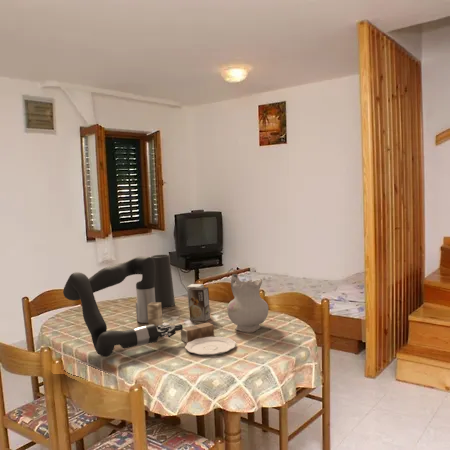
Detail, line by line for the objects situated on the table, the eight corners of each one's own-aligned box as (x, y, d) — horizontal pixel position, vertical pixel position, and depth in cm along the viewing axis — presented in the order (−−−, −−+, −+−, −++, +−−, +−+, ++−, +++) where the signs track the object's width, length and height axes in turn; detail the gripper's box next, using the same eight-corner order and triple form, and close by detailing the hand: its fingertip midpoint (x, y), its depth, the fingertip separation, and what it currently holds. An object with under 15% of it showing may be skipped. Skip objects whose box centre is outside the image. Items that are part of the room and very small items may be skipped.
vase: (179, 303, 267) (176, 254, 265) (161, 309, 257) (158, 258, 255) (164, 300, 276) (162, 253, 274) (146, 305, 266) (143, 256, 264)
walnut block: (185, 331, 197) (213, 324, 205) (180, 328, 202) (207, 322, 209) (186, 342, 198) (214, 335, 205) (181, 339, 202) (208, 333, 210)
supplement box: (205, 305, 260) (204, 283, 259) (200, 309, 253) (199, 286, 252) (193, 305, 262) (192, 283, 261) (188, 308, 255) (186, 286, 254)
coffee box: (210, 318, 234) (209, 287, 233) (205, 321, 228) (204, 289, 227) (194, 317, 237) (193, 286, 236) (189, 320, 232) (187, 289, 230)
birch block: (149, 334, 211) (147, 305, 210) (153, 331, 216) (151, 302, 215) (159, 334, 210) (157, 305, 209) (163, 331, 215) (161, 302, 214)
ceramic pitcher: (216, 330, 216) (211, 279, 212) (243, 317, 230) (238, 269, 226) (252, 339, 201) (247, 284, 197) (278, 325, 215) (273, 273, 211)
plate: (195, 361, 176) (195, 357, 176) (179, 345, 195) (178, 342, 195) (244, 351, 184) (244, 347, 184) (223, 337, 203) (223, 333, 203)
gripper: (139, 340, 196) (175, 331, 205) (151, 348, 185) (189, 338, 194) (138, 322, 195) (174, 315, 204) (150, 329, 184) (188, 321, 193)
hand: (181, 326), depth 199 cm, fingers closed
